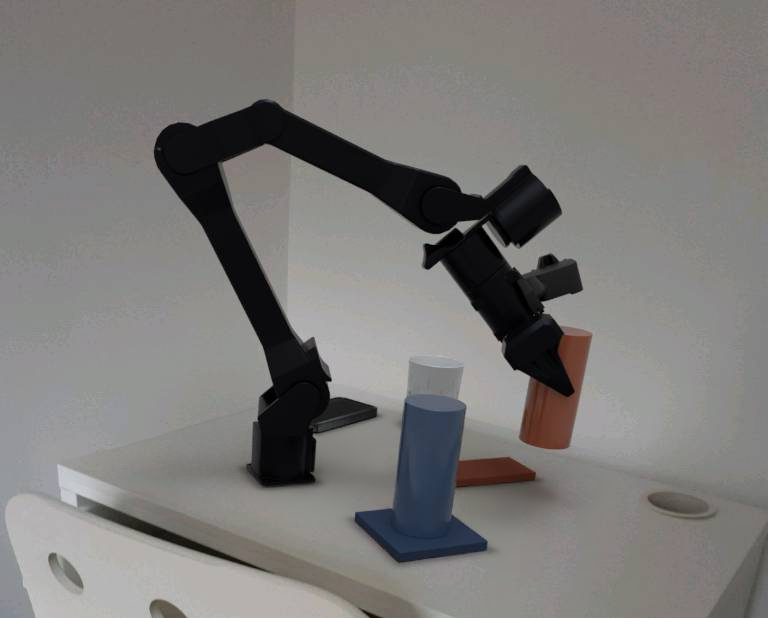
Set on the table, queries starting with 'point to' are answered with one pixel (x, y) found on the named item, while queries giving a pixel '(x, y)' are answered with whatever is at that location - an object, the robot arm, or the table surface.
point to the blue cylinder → (427, 465)
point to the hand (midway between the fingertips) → (566, 387)
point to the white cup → (434, 375)
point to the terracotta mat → (492, 471)
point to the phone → (342, 413)
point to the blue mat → (419, 548)
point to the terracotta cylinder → (556, 397)
